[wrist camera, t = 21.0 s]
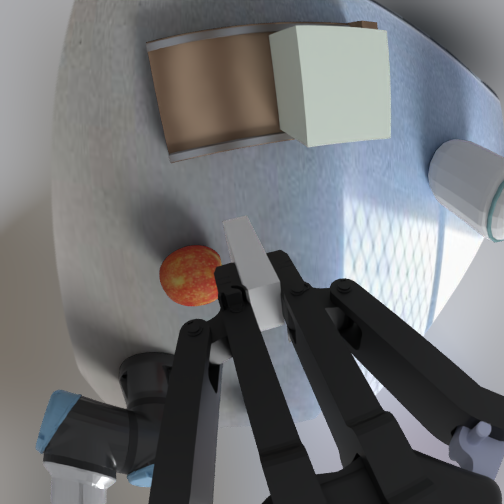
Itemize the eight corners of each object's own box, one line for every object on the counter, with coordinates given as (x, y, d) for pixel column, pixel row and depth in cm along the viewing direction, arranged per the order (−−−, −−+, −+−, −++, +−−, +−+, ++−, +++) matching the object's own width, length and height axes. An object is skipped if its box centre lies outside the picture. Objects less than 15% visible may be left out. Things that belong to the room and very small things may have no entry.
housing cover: (280, 129, 32) (307, 147, 26) (268, 35, 26) (295, 25, 19) (350, 121, 33) (390, 138, 27) (344, 34, 27) (386, 30, 20)
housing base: (171, 156, 35) (170, 173, 29) (149, 44, 27) (141, 38, 21) (355, 126, 37) (382, 138, 32) (348, 26, 29) (377, 22, 24)
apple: (223, 276, 46) (232, 313, 40) (168, 285, 45) (168, 324, 38) (216, 229, 42) (225, 263, 35) (155, 240, 40) (152, 276, 34)
